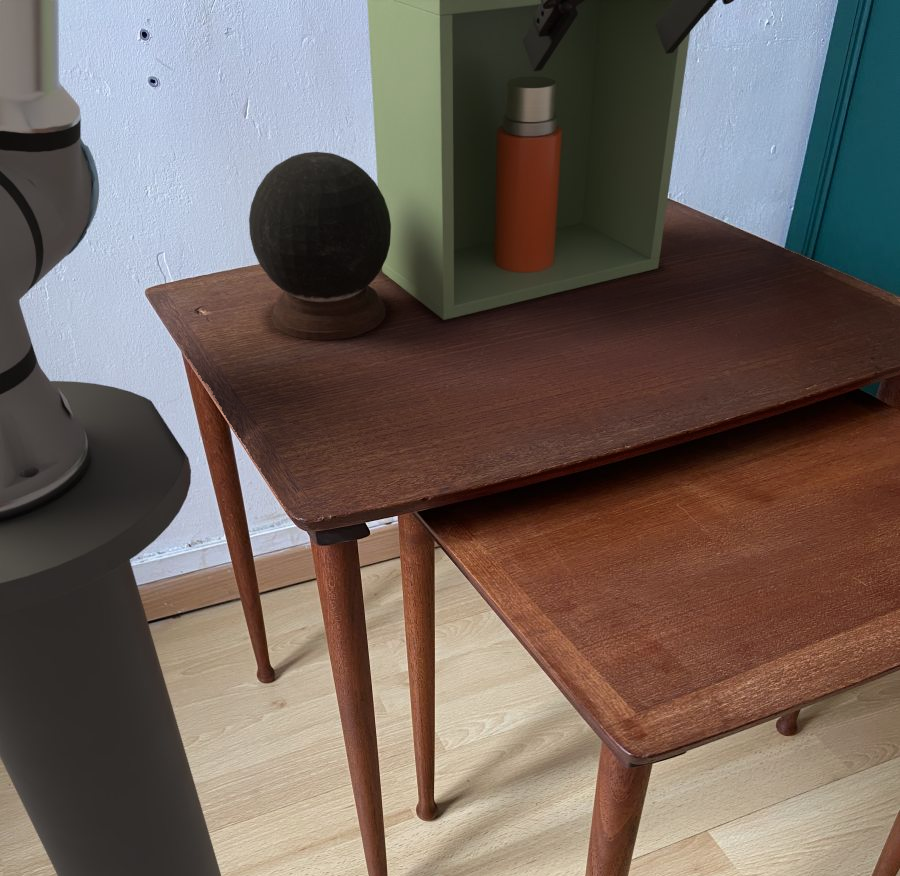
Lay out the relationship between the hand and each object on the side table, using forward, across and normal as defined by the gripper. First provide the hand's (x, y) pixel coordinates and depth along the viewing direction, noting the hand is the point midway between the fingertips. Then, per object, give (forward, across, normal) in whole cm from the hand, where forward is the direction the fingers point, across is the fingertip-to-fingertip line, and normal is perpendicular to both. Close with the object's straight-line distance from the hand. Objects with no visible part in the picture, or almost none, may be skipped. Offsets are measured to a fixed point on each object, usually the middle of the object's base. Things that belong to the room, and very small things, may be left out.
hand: (599, 47), depth 80 cm
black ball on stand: (+24, -22, -9) cm, 34 cm away
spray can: (+23, 0, -8) cm, 24 cm away
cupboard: (+24, 0, -8) cm, 26 cm away
